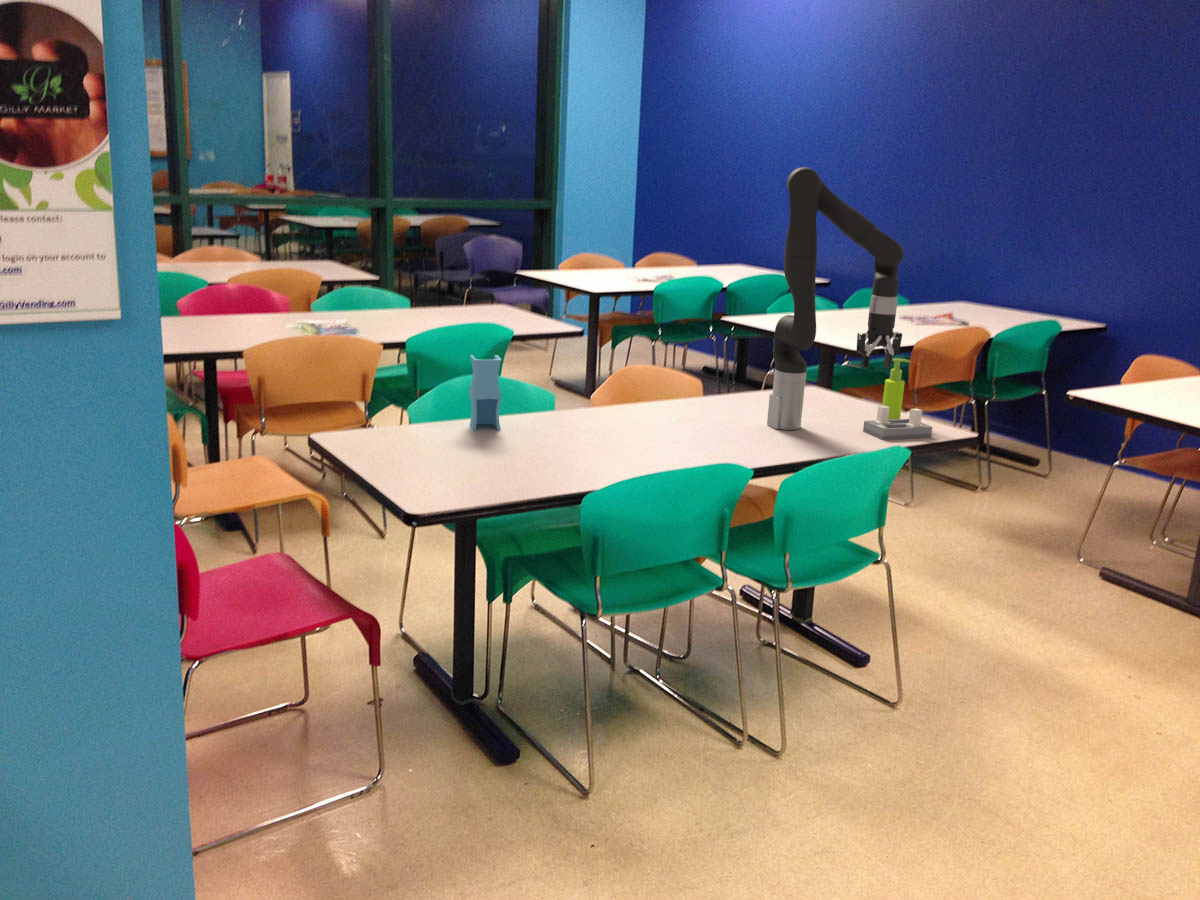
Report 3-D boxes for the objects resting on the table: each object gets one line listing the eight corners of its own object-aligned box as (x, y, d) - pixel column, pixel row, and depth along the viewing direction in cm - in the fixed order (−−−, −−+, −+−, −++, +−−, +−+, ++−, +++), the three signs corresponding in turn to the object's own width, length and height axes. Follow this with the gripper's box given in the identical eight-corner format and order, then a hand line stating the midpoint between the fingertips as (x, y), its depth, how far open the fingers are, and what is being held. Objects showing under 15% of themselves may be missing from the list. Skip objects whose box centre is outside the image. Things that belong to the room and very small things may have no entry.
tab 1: (878, 429, 305) (881, 408, 303) (872, 427, 308) (875, 405, 306) (889, 429, 307) (892, 407, 305) (884, 426, 309) (886, 405, 307)
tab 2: (911, 432, 304) (913, 411, 302) (904, 430, 306) (907, 408, 304) (922, 432, 305) (925, 410, 303) (916, 429, 308) (918, 408, 306)
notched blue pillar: (496, 423, 297) (497, 354, 291) (500, 430, 290) (502, 360, 284) (468, 423, 295) (469, 354, 289) (472, 430, 287) (473, 360, 282)
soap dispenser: (905, 424, 319) (913, 361, 314) (882, 423, 319) (890, 360, 314) (900, 420, 325) (908, 357, 320) (878, 419, 325) (886, 356, 320)
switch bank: (882, 439, 299) (883, 428, 298) (862, 431, 308) (864, 420, 308) (930, 437, 305) (932, 426, 304) (910, 428, 314) (911, 418, 313)
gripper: (868, 313, 290) (862, 371, 295) (911, 313, 295) (904, 369, 300) (854, 309, 297) (847, 366, 302) (895, 309, 302) (889, 364, 307)
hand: (876, 367), depth 301 cm, fingers open, 7 cm apart
